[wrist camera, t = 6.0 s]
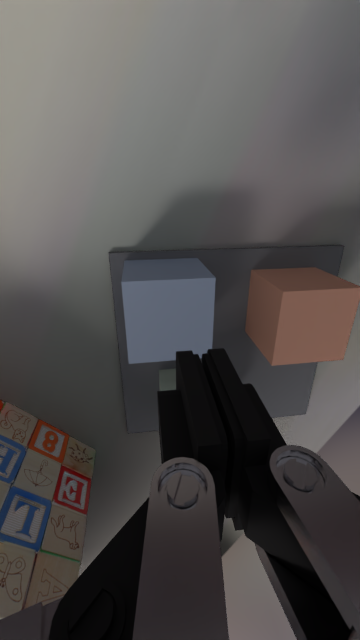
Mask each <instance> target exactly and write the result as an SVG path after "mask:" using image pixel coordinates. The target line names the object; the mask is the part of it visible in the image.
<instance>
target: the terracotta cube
mask: <svg viewBox="0 0 360 640" xmlns="http://www.w3.org/2000/svg"><path fill="white" fill-rule="evenodd" d="M359 300H360V286H358V285H355V284H353V283H351V282H348V281H346V280H344V279H341V278H339V277H337V276H334V275H332V274H330V273H327V272H325V271H323V270H320V269H318V268H316V267H308V268H284V269H259V270H251V277H250V287H249V297H248V306H247V316H246V326H245V332H246V333H247V334H248V336H249V337H250V338H251V340H252V341H253V342H254V343H255V345H256V346H257V347H258V349H259V350H260V351H261V353H262V354H263V355H264V356H265V358H266V359H267V360H268V362H269V363H270V364H271V365H272V366H275V365H287V364H299V363H310V362H322V361H334V360H343V359H344V355H345V351H346V348H347V344H348V340H349V337H350V333H351V329H352V326H353V322H354V318H355V315H356V311H357V307H358V304H359Z"/></svg>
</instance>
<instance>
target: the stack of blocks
mask: <svg viewBox="0 0 360 640" xmlns="http://www.w3.org/2000/svg"><path fill="white" fill-rule="evenodd" d="M95 454H96V450H95V449H93V448H91V447H89V446H87V445H85V444H83V443H81V442H80V441H78V440H76V439H74V438H72V437H70V436H69V435H68V434H66V433H64V432H62V431H61V430H59V429H57V428H55V427H53V426H51V425H49V424H47V423H46V422H44V421H42V420H39V419H38V418H36V417H34V416H33V415H31V414H29V413H27V412H25V411H23V410H21V409H20V408H18V407H16V406H14V405H12V404H10V403H8V402H3V401H1V400H0V620H1V619H3V618H5V617H7V616H10V615H12V614H14V613H16V612H19V611H21V610H23V609H25V608H28V607H30V606H32V605H35V604H37V603H39V602H42V604H43V606H44V605H46V604H48V603H51V602H53V601H55V600H57V599H59V598H62V597H63V596H64V595H65V594H66V592H67V591H68V589H69V588H70V587H71V586H72V585H73V583H74V582H75V581H76V580H77V579H78V574H79V567H80V564H81V561H82V553H83V546H84V536H85V532H86V522H87V517H86V516H87V511H88V504H89V496H90V488H91V479H92V476H93V469H94V462H95Z"/></svg>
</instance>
